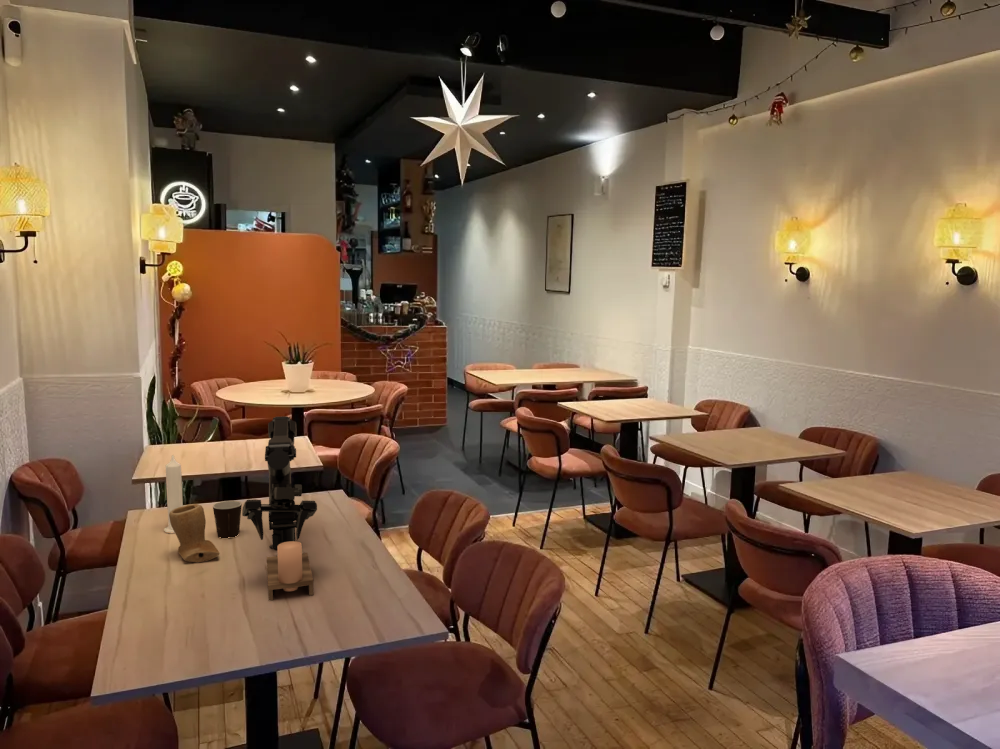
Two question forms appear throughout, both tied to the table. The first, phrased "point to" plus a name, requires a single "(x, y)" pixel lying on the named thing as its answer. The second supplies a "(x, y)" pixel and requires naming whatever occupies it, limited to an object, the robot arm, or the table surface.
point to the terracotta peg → (289, 563)
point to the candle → (173, 488)
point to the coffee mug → (227, 518)
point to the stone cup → (192, 533)
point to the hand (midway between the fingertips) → (280, 539)
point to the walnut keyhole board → (275, 584)
